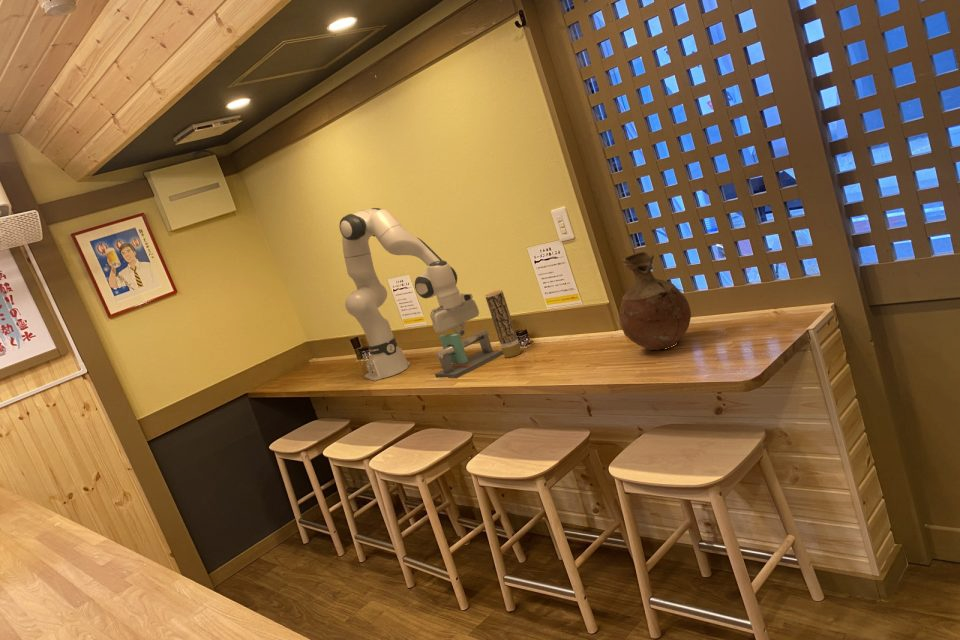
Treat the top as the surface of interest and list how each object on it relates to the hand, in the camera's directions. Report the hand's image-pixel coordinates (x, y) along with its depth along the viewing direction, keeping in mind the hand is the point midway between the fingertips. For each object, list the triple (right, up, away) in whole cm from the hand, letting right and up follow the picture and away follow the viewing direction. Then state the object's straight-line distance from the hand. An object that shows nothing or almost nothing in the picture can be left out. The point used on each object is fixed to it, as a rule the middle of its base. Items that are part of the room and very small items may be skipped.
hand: (461, 335), depth 279 cm
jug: (+64, -2, -52) cm, 83 cm away
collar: (-1, -10, -1) cm, 10 cm away
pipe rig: (+3, -10, +2) cm, 11 cm away
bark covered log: (+20, -7, -3) cm, 21 cm away
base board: (+3, -12, +2) cm, 12 cm away
